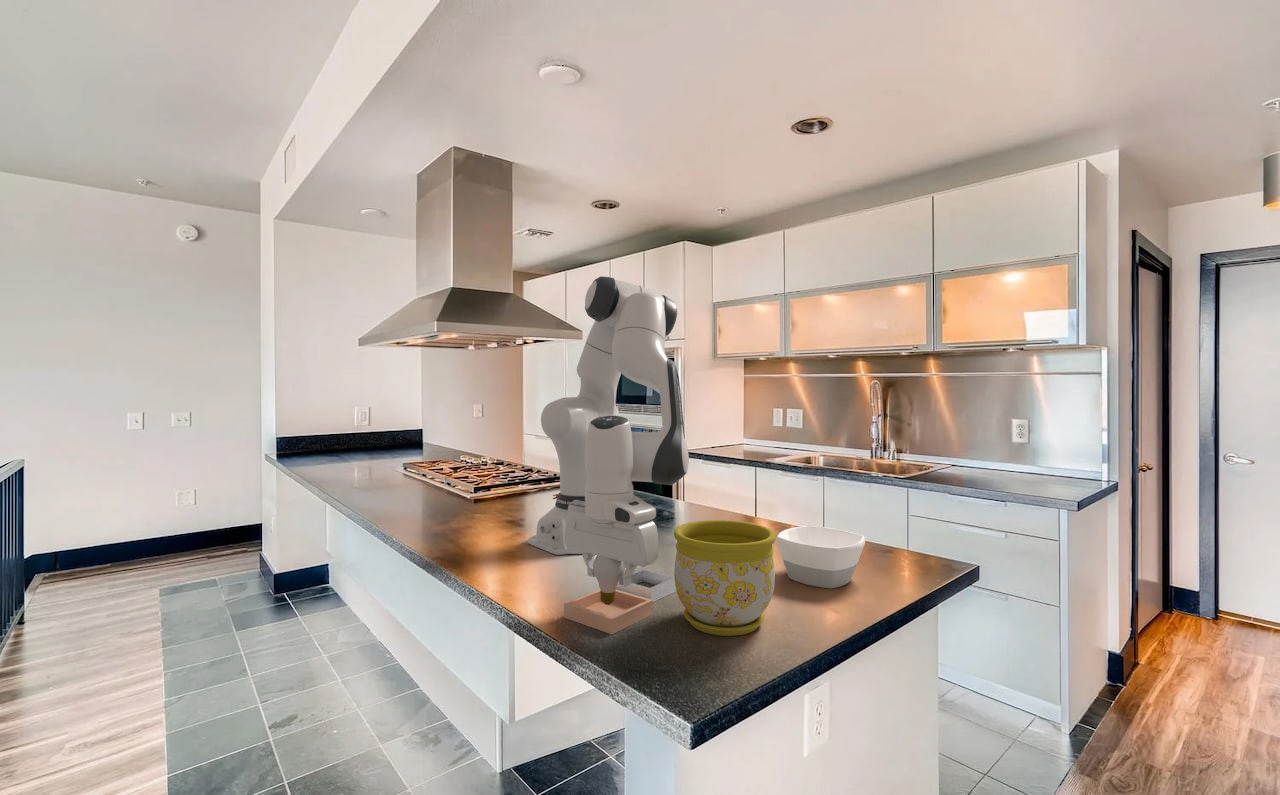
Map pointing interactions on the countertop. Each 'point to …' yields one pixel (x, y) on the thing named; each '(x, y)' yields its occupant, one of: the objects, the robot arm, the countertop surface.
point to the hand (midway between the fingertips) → (608, 580)
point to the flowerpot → (724, 574)
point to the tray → (608, 611)
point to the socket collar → (661, 580)
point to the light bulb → (607, 577)
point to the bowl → (820, 555)
